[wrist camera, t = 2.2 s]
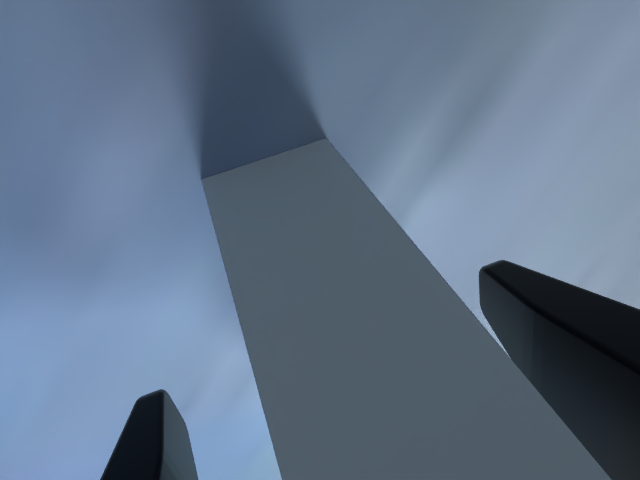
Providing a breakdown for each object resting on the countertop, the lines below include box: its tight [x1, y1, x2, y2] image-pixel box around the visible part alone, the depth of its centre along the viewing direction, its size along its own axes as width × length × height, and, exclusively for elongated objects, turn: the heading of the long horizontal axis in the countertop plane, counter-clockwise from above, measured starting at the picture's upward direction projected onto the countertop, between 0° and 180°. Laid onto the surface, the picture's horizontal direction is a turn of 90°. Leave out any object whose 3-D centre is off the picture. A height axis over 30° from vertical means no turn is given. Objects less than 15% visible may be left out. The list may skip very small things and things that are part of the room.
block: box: [201, 138, 611, 480], centre depth 7 cm, size 5×2×8 cm, turn 10°
